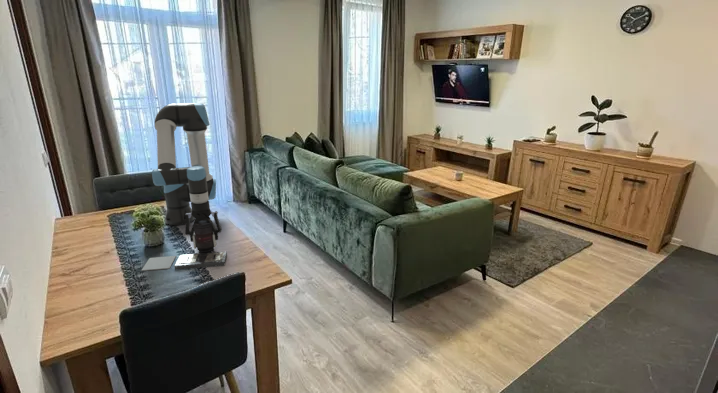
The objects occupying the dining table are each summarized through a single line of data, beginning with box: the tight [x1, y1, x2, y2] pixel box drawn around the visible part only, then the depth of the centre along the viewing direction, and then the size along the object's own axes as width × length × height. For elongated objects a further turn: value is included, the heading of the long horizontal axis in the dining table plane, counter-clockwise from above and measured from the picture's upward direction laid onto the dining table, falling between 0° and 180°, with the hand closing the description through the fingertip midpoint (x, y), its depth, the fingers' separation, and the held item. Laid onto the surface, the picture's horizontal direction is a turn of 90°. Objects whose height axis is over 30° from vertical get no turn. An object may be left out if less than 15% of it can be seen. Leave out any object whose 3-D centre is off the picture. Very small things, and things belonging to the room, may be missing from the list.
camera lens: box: [193, 220, 215, 253], centre depth 172 cm, size 8×8×15 cm
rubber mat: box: [141, 255, 177, 272], centre depth 163 cm, size 11×11×1 cm
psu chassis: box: [173, 250, 228, 271], centre depth 164 cm, size 10×20×2 cm, turn 102°
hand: (205, 246), depth 174 cm, fingers closed on camera lens, 8 cm apart
